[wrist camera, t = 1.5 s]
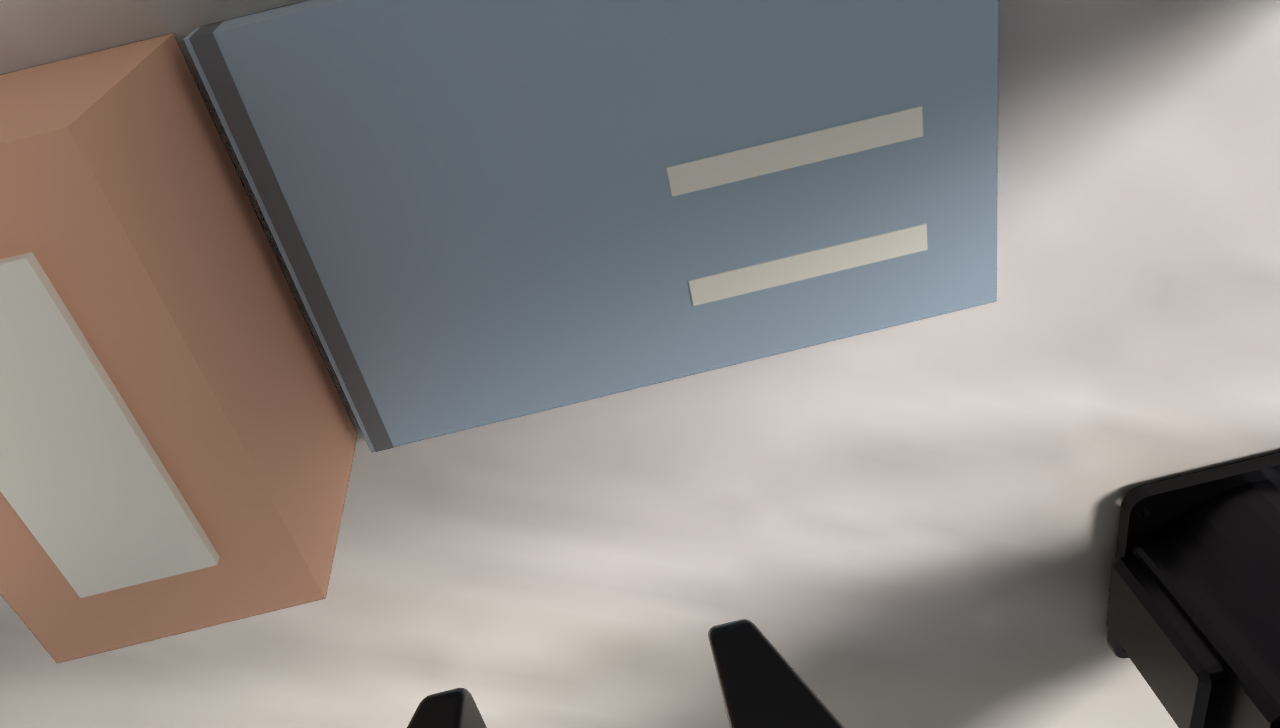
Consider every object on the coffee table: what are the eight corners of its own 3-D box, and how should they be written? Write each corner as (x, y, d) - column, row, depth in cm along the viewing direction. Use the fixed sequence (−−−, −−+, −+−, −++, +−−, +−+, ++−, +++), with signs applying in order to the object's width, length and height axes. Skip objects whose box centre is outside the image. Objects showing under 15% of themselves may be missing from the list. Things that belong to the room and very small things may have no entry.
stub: (173, 33, 17) (61, 131, 12) (357, 434, 22) (323, 606, 17) (-108, 100, 17) (-318, 223, 12) (140, 487, 22) (53, 672, 17)
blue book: (979, -161, 17) (1000, -157, 16) (980, 284, 22) (997, 302, 21) (195, 28, 17) (182, 40, 16) (374, 430, 22) (370, 453, 21)
